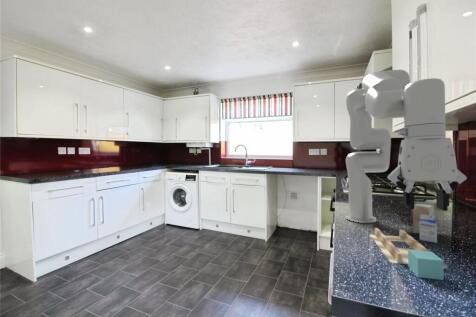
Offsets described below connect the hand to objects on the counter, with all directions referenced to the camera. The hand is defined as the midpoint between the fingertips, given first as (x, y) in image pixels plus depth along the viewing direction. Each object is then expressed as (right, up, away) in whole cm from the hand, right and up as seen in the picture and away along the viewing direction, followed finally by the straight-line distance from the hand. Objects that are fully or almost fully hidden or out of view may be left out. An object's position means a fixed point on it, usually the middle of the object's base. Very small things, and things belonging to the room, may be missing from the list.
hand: (425, 208), depth 53 cm
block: (+1, -15, +3) cm, 15 cm away
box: (+25, -17, +30) cm, 42 cm away
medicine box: (+20, -17, +23) cm, 35 cm away
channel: (+5, -17, +15) cm, 24 cm away
